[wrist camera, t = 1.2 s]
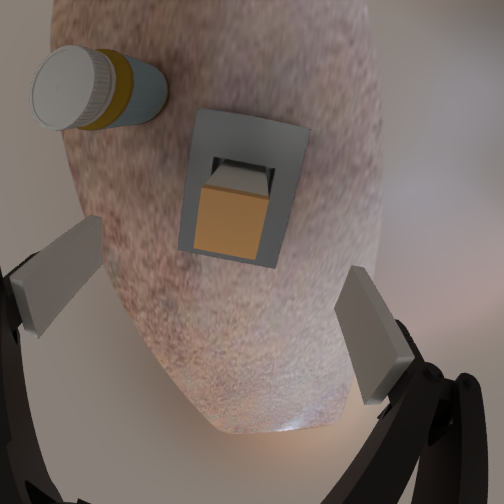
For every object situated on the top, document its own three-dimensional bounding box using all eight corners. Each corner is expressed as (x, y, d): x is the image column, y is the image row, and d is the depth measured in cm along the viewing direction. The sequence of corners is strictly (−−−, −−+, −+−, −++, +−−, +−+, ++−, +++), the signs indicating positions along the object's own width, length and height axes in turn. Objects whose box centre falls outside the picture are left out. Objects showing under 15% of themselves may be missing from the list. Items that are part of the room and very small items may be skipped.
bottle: (151, 134, 29) (73, 153, 15) (104, 109, 27) (14, 118, 14) (182, 79, 26) (119, 54, 13) (132, 57, 25) (50, 30, 11)
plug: (225, 158, 29) (201, 187, 17) (265, 166, 29) (269, 200, 18) (219, 196, 31) (193, 248, 19) (257, 203, 31) (255, 260, 20)
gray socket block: (208, 109, 28) (197, 107, 23) (302, 127, 28) (310, 129, 23) (189, 229, 34) (177, 249, 29) (273, 245, 34) (275, 268, 29)
